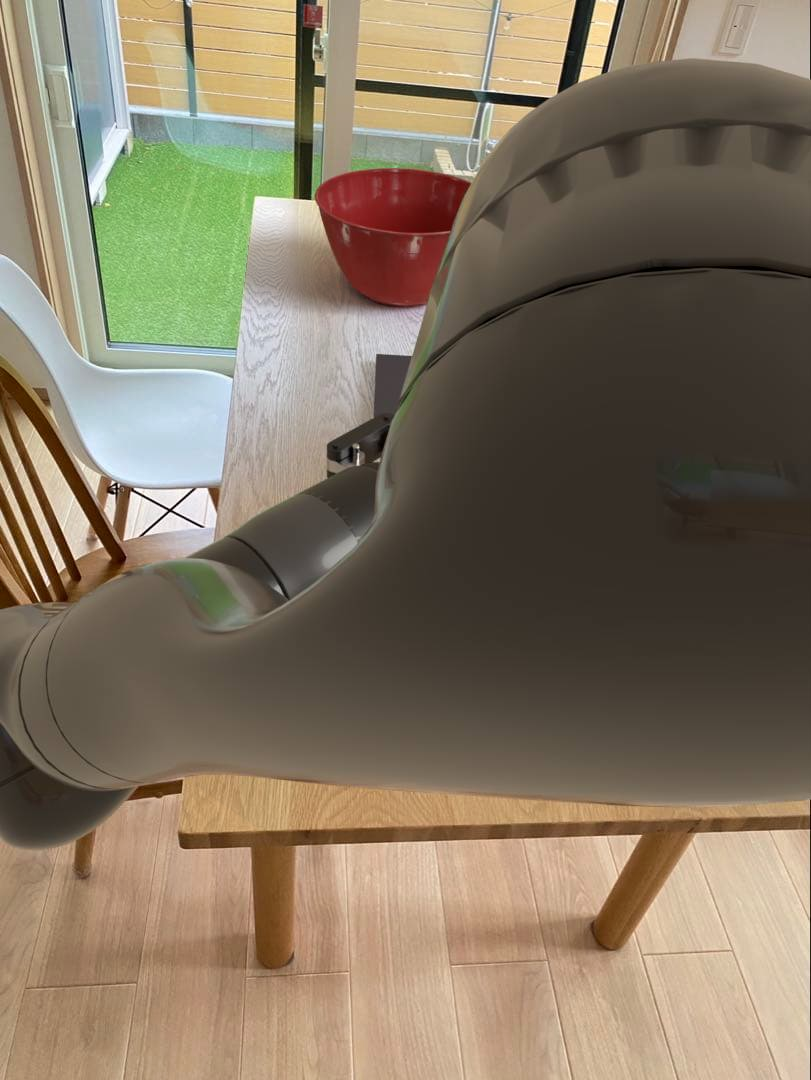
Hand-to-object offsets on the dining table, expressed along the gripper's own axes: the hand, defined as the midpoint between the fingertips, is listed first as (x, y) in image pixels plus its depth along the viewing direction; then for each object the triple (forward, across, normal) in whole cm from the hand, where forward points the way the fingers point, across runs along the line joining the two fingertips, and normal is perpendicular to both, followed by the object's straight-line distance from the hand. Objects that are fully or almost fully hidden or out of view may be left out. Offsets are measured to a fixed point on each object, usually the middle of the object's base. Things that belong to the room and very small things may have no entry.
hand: (506, 448), depth 53 cm
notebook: (+32, +37, +28) cm, 56 cm away
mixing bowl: (+55, +64, +28) cm, 89 cm away
